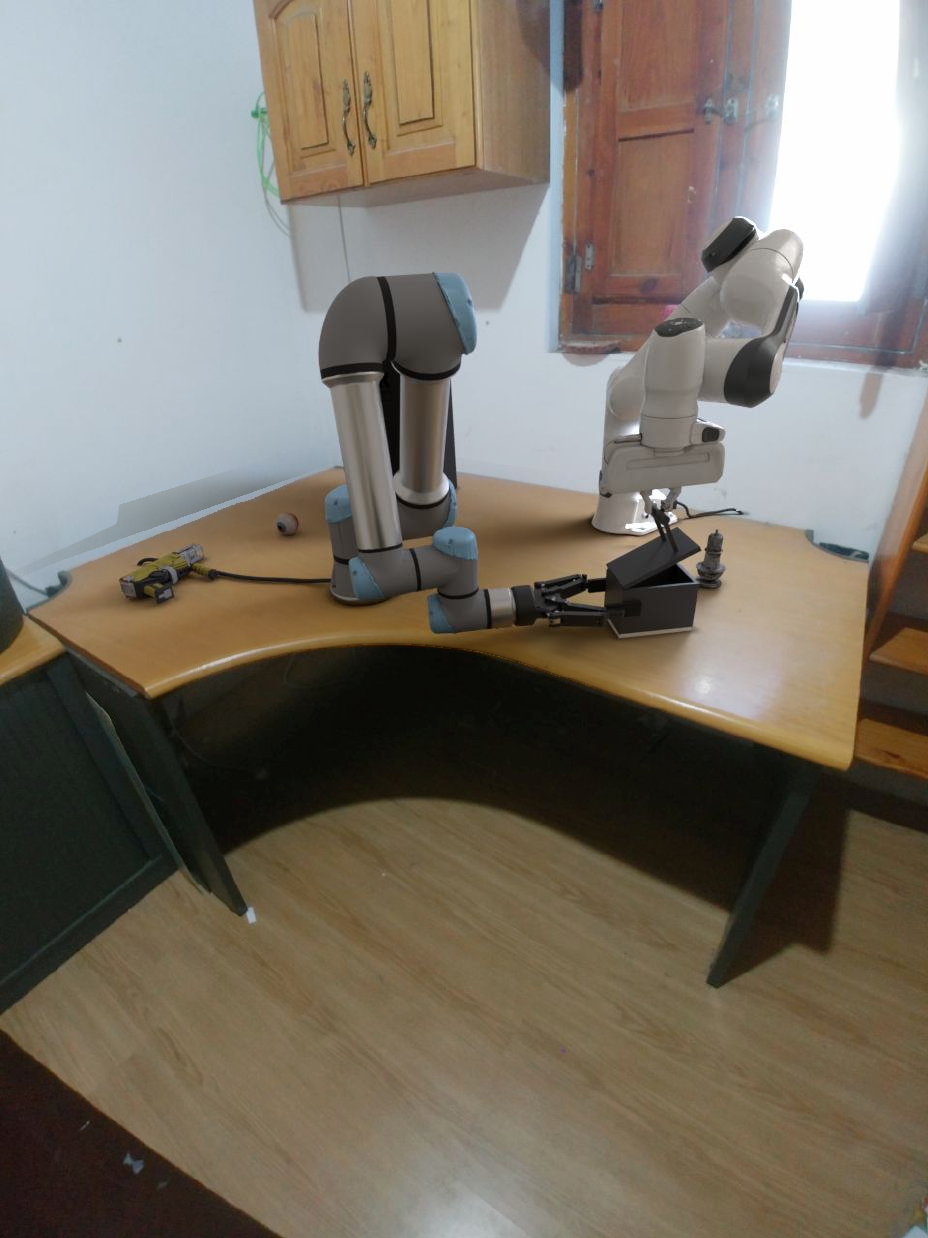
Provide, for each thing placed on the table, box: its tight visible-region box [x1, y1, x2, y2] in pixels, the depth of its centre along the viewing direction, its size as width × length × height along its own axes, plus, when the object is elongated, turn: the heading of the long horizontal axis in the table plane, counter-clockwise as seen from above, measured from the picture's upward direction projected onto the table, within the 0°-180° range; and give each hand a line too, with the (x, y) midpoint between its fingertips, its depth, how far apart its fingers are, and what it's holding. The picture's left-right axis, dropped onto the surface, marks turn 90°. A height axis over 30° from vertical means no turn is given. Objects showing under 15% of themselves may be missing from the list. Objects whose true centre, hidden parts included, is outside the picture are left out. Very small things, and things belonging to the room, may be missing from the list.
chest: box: [603, 562, 700, 639], centre depth 113 cm, size 14×9×10 cm
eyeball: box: [275, 511, 300, 536], centre depth 163 cm, size 6×6×6 cm
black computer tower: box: [379, 361, 458, 490], centre depth 169 cm, size 38×20×45 cm, turn 167°
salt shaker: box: [695, 528, 727, 589], centre depth 125 cm, size 6×6×12 cm
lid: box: [605, 507, 702, 590], centre depth 107 cm, size 15×9×9 cm, turn 96°
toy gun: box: [118, 542, 219, 605], centre depth 141 cm, size 5×24×15 cm
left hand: (630, 595), depth 112 cm, fingers closed on chest, 9 cm apart
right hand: (658, 511), depth 105 cm, fingers closed, pressing on lid
